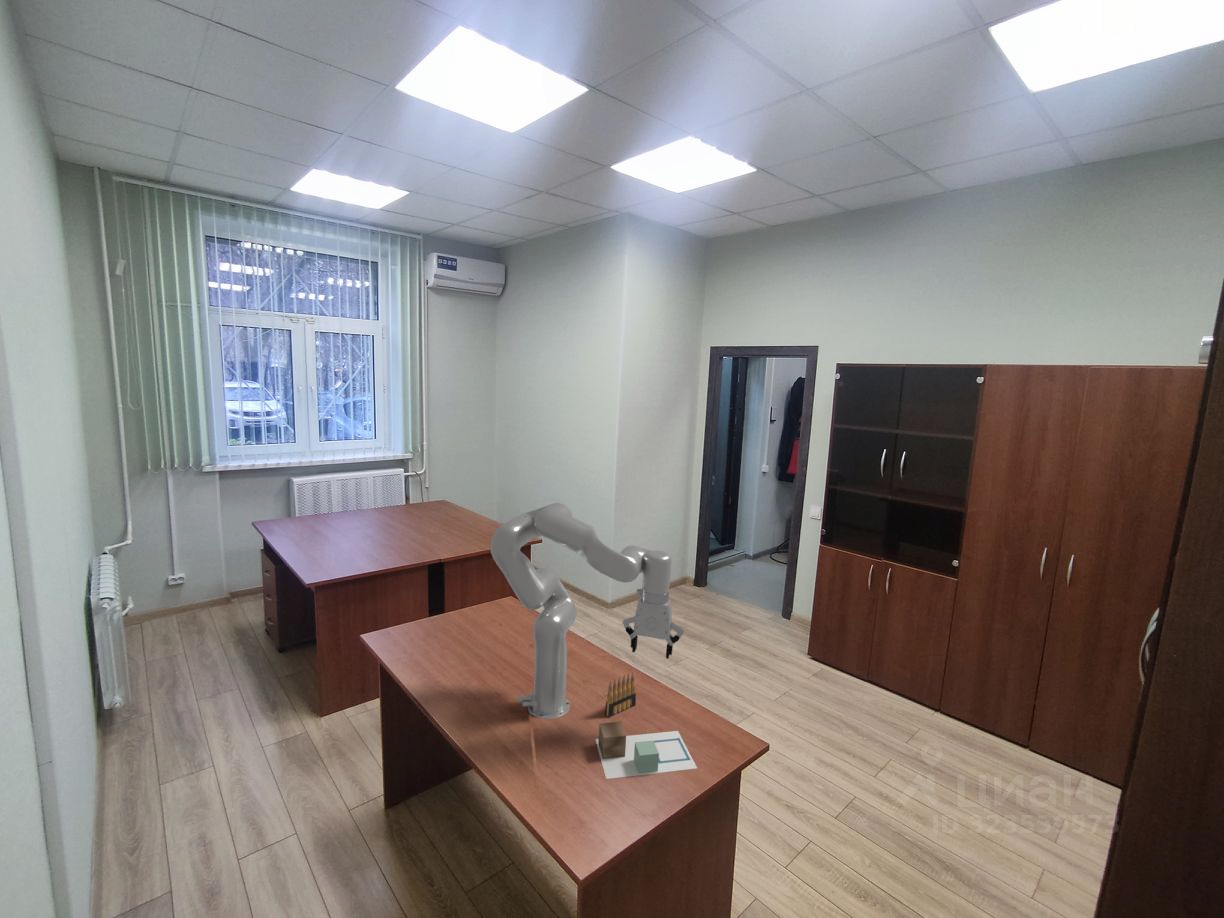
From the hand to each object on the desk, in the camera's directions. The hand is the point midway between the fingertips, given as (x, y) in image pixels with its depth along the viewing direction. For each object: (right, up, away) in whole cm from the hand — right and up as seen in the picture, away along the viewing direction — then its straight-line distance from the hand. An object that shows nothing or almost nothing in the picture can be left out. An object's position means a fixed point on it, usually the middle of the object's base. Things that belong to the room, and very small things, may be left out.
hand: (651, 653), depth 150 cm
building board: (-2, -24, -9) cm, 26 cm away
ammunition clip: (-9, -22, +10) cm, 25 cm away
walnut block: (-11, -23, -8) cm, 27 cm away
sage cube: (-2, -24, -13) cm, 28 cm away
